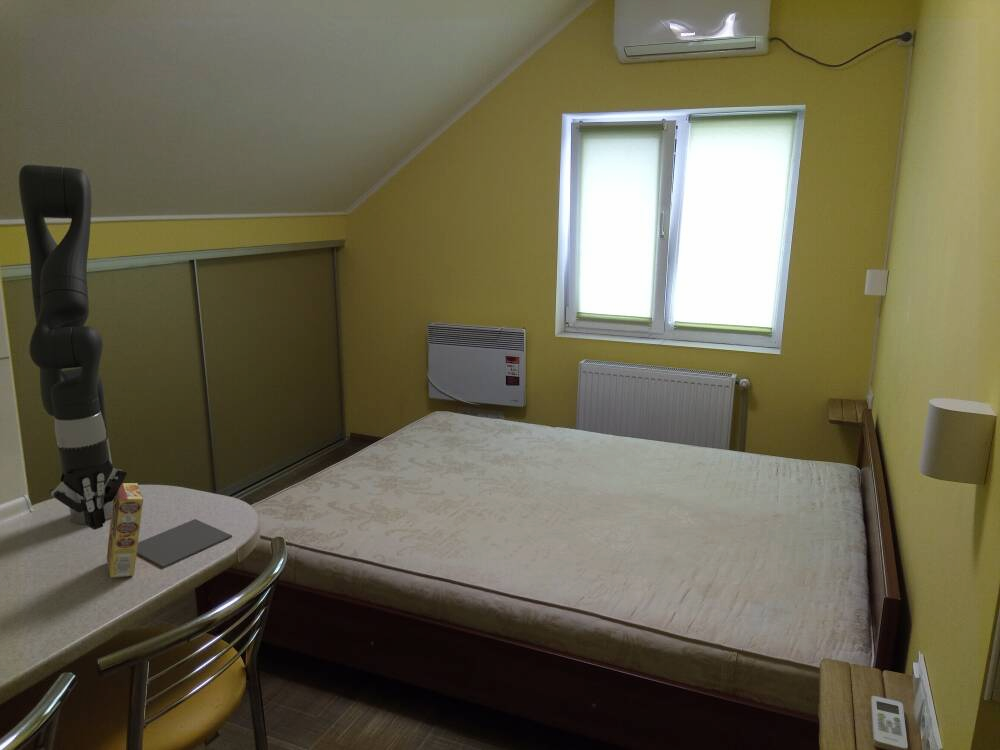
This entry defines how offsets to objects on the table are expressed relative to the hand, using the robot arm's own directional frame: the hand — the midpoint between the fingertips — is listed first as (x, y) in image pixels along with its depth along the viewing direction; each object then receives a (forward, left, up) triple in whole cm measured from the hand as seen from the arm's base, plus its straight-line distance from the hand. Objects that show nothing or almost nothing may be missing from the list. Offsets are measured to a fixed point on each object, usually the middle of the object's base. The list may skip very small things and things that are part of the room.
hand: (96, 527), depth 128 cm
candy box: (0, +3, -10) cm, 10 cm away
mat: (0, +15, -10) cm, 18 cm away
